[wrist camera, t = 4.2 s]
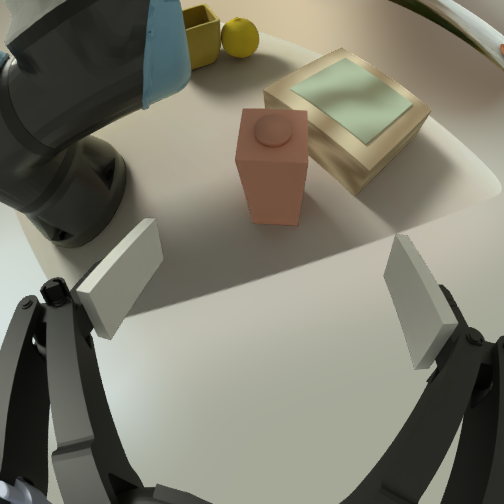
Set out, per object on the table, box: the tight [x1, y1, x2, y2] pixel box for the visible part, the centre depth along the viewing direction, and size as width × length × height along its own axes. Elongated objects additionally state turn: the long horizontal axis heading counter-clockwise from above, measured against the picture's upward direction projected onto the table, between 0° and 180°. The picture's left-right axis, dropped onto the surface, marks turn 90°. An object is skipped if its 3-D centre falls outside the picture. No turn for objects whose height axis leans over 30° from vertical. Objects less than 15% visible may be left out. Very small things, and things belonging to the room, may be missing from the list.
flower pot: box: [182, 4, 221, 70], centre depth 31 cm, size 9×9×9 cm
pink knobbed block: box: [235, 109, 308, 226], centre depth 22 cm, size 4×4×13 cm
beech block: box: [263, 48, 431, 196], centre depth 27 cm, size 14×14×6 cm
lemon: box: [221, 17, 259, 58], centre depth 31 cm, size 6×6×8 cm
